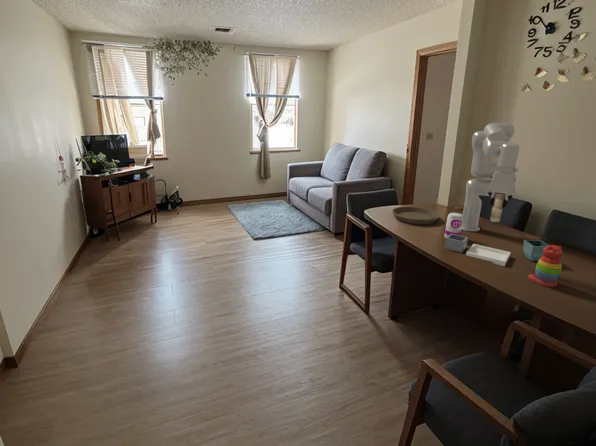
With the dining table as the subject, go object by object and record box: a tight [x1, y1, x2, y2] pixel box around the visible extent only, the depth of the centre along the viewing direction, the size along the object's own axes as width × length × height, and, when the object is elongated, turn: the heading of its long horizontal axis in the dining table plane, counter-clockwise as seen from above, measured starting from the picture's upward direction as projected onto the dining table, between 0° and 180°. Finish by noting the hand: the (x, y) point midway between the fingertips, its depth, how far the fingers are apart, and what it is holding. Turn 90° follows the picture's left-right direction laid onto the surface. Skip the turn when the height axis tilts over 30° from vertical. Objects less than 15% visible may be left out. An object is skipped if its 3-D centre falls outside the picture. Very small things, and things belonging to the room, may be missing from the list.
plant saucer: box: [391, 206, 441, 225], centre depth 245 cm, size 31×31×5 cm
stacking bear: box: [527, 244, 563, 288], centre depth 159 cm, size 11×10×18 cm
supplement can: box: [443, 212, 463, 239], centre depth 208 cm, size 8×8×15 cm
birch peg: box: [489, 193, 505, 223], centre depth 178 cm, size 4×4×14 cm
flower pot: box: [522, 239, 550, 262], centre depth 184 cm, size 9×9×9 cm
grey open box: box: [443, 234, 469, 254], centre depth 194 cm, size 9×9×7 cm
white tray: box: [465, 243, 511, 267], centre depth 187 cm, size 15×18×2 cm
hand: (497, 206), depth 178 cm, fingers closed on birch peg, 4 cm apart
